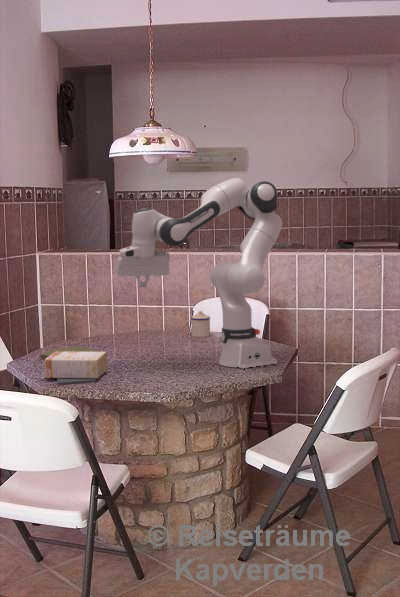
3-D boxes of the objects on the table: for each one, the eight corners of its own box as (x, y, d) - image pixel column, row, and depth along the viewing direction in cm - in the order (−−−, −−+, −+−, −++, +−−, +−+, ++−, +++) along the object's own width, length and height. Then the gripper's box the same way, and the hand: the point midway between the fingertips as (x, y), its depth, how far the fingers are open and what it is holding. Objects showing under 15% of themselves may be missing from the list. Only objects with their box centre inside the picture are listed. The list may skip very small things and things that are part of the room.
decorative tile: (72, 366, 289) (71, 357, 288) (39, 360, 302) (39, 351, 301) (107, 358, 303) (106, 349, 303) (74, 352, 316) (74, 344, 315)
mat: (90, 372, 276) (90, 370, 276) (95, 382, 261) (95, 379, 261) (54, 374, 273) (54, 372, 273) (58, 385, 258) (58, 382, 258)
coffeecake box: (107, 369, 277) (56, 368, 279) (107, 350, 276) (56, 350, 278) (97, 379, 262) (44, 378, 264) (97, 359, 261) (43, 359, 263)
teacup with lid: (212, 334, 350) (212, 310, 349) (207, 338, 342) (206, 313, 340) (188, 333, 354) (188, 309, 352) (182, 336, 345) (182, 312, 344)
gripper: (167, 249, 286) (166, 284, 289) (115, 250, 280) (114, 286, 282) (171, 251, 280) (170, 287, 283) (118, 252, 274) (118, 289, 277)
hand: (142, 286), depth 282 cm, fingers closed
